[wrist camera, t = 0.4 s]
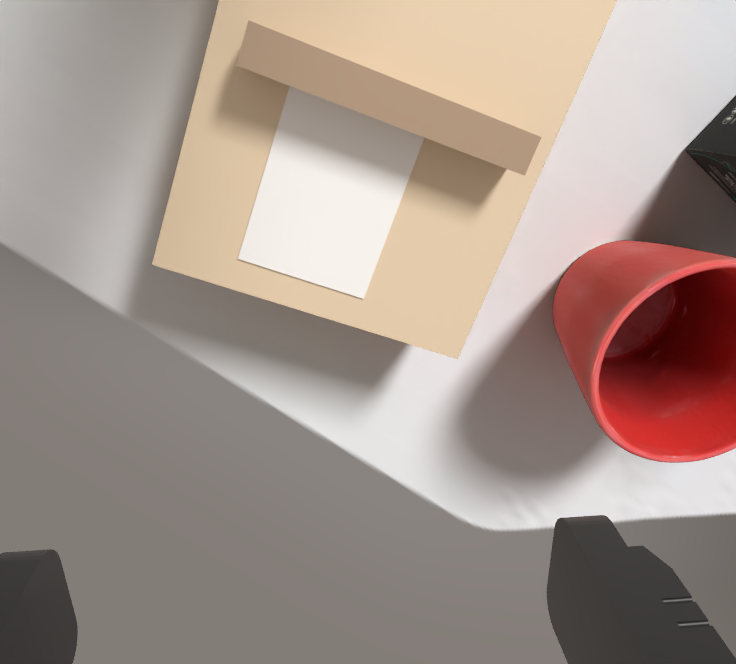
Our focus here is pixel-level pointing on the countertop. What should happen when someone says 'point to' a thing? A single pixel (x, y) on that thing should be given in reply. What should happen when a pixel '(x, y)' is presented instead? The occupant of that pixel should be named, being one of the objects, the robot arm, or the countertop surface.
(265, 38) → the lid
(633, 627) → the robot arm
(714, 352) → the flower pot
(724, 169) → the tampon box
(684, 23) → the countertop surface
